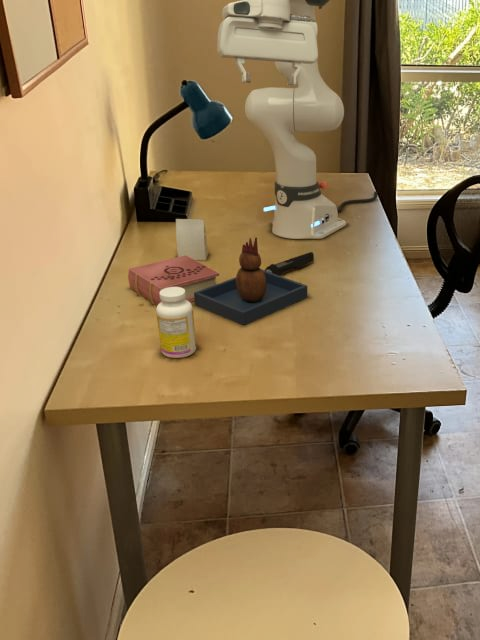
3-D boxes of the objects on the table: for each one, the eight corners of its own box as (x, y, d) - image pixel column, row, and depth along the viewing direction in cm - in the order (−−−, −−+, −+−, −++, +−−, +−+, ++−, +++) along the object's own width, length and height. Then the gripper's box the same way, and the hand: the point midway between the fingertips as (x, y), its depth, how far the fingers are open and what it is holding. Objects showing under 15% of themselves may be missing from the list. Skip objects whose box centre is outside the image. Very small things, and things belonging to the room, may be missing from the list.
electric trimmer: (317, 264, 191) (317, 253, 190) (272, 280, 180) (272, 268, 179) (307, 261, 193) (307, 249, 192) (262, 276, 182) (261, 264, 181)
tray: (259, 280, 180) (259, 268, 179) (307, 297, 172) (307, 285, 171) (194, 305, 166) (193, 292, 164) (243, 325, 158) (243, 312, 157)
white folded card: (205, 260, 190) (202, 222, 185) (178, 259, 189) (174, 221, 185) (207, 254, 193) (204, 217, 189) (180, 254, 192) (177, 216, 188)
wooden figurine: (271, 300, 169) (269, 237, 162) (249, 307, 165) (246, 242, 158) (254, 291, 173) (251, 229, 166) (232, 297, 169) (228, 234, 162)
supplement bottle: (175, 341, 150) (169, 281, 144) (203, 348, 148) (198, 288, 142) (153, 355, 145) (146, 294, 139) (182, 362, 143) (176, 301, 137)
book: (127, 290, 171) (125, 269, 169) (187, 274, 181) (185, 254, 179) (159, 310, 162) (157, 289, 160) (220, 292, 172) (219, 272, 170)
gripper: (313, 19, 158) (313, 88, 161) (214, 9, 149) (216, 82, 153) (322, 14, 152) (322, 85, 155) (219, 3, 144) (222, 79, 147)
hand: (269, 84), depth 154 cm, fingers open, 8 cm apart
